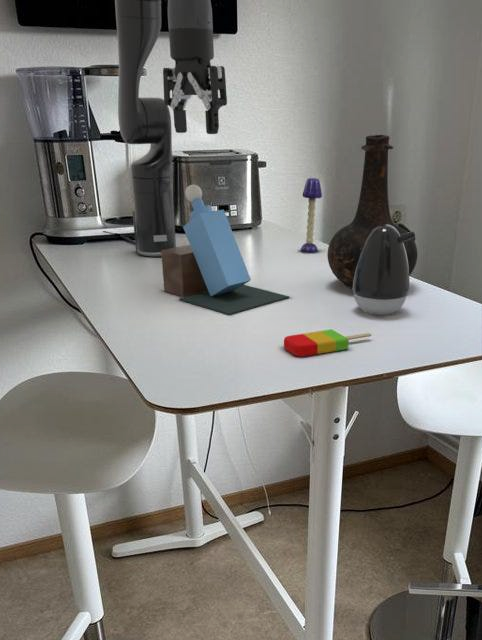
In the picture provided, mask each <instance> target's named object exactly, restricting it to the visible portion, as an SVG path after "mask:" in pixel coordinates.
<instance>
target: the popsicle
mask: <svg viewBox="0 0 482 640" xmlns="http://www.w3.org/2000/svg"><path fill="white" fill-rule="evenodd" d="M368 337H372V333H370V332H365V333H359V334H353V335H346V336H345V335H342V334H340V333H339V332H337V331H336V330H334V329H332V328H331V329H325V330H318V331H311V332H305V333H298V334H291V335H287V336H285V337H284V339H283V348H284V350H286V351H288V352H289V353H290V354H292V355H293V356H295V357H301V358H302V357H309V356H314V355H319V354H326V353H333V352H338V351H344V350H347V349H348V348H349V341H350V340H356V339H362V338H368Z"/></svg>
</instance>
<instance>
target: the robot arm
mask: <svg viewBox="0 0 482 640" xmlns="http://www.w3.org/2000/svg"><path fill="white" fill-rule="evenodd" d="M114 6H115V7H114V8H115V21H116V22H115V23H116V35H117V36H116V37H117V52H118V53H117V54H118V55H117V56H118V88H117V89H118V91H117V92H118V94H117V96H118V97H117V118H118V119H117V120H118V128H119V132H120V135H121V138H122V140H123V141H124V142H125V143H126V144H128V145H150V146H149V150H148V151H147V152H146V154H144V156H142V157H140V158H138V159H137V160H135V161H133V162H132V163H131V164H130V176H131V177H130V179H131V188H132V189H131V191H132V200H133V210H132V221H133V222H132V223H133V234H134V235H133V236H134V240H133V239H131V238H130V237H128V236H127V237H125V236H126V235H125V236H123V235H124V234H123V235H120V236H119V238H122V239H123V240H125V241H127V242H128V243H130V244H132V245H134V246H135V252H136V253H137V254H138V255H140V256H142V257H155V258H156V257H162V255H161V250H165V249H170V248H175V247H177V240H176V223H175V222H176V221H175V208H174V193H173V178H172V165H173V145H172V144H173V142H172V139H173V138H172V137H173V135H172V132H173V131H172V117H171V112H170V108H171V110H172V112H173V124H174V130H175V132H176V133H177V134H183V133H184V134H186V133H187V131H188V127H187V125H188V123H187V110H186V109H185V108H186V106H187V103H188V101H189V100H190V99H191V98H192V96H197V98H198V99H200V100H201V101H202V104H203V106H204V107H205V132H206V134H207V135H217V134H218V133H219V129H220V124H219V123H220V121H219V120H220V119H219V118H220V117H219V110H220V109H221V108H222V107H224V106H227V104H228V95H227V82H226V81H227V80H226V68H225V66H223V65H212V64H211V61H212V60H213V59H214V58H215V47H214V26H213V25H214V23H213V8H212V2H211V0H167V26H168V39H169V41H168V42H169V56H170V58H171V60H174V62H175V65H174V67H163V69H162V81H163V98H162V97H140V95H139V94H140V83H141V77H142V73H143V70H144V67H145V65H146V63H147V61H148V59H149V57H150V55H151V54H152V51H153V49H154V47H155V45H156V44H157V41H158V39H159V35H160V33H161V29H162V0H114ZM169 107H170V108H169Z"/></svg>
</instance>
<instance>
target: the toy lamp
mask: <svg viewBox="0 0 482 640" xmlns="http://www.w3.org/2000/svg"><path fill="white" fill-rule="evenodd" d="M322 192H323V191H322V186H321V180H320V178H315V177H309V178H307V179H306V181H305V184H304V188H303V191H302V198H306V199H308V201H307V202H308V205H307V209H308V211H307V220H306V222H307V225H306V239H305V241H306V243H304V244H303V245H302V246H301V247H300V251H301V252H302V253H306V254H315V253H318V252H319V250H318V246H317V245H316V244H315V243H313V242H314V238H313V237H314V235H315V234H314V233H315V232H314V230H315V216H316V212H315V210H316V202H317V201H316V199H322V198H323V193H322Z"/></svg>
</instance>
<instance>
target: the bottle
mask: <svg viewBox="0 0 482 640" xmlns="http://www.w3.org/2000/svg"><path fill="white" fill-rule="evenodd" d="M184 195H185V198H186V200H187V201H188V202H189V203H191V206H192V209H193V210H192V211H191V212H190V213H189V217H190V219H191V220H190V221H188V222H187V223H185V224H184V225H183V226H182V228H183V230H184V233H185V236H186V238H187V241H188V243H189V245H190V246H191V248H192V251H193V253H194V256H195V259H196V261H197V264H198V266H199V269H200V271H201V274H202V276H203V279H204V281H205V284H206V286H207V289H208V291H209V294H210V296H211V297H212V296H216V295H220V294H224V293H228V292H231V291H234V290H236V289H237V288H239V287H241V286H242V285H247V283H249V282H251V280H252V279H251V277H250V274H249V272H248V269H247V266H246V264H245V261H244V258H243V255H242V253H241V250H240V248H239V245H238V242H237V240H236V238H235V235H234V232H233V230H232V227H231V224H230V221H229V219H228V217H227V214H226V212H225V210H224V209H219V210H213V208H212V205H205V203H204V200H203V198H202V197H203V190H202V188H201V187H200V186H199V185H197V184H190V185H188V186H187V187H186V188H185V191H184ZM208 291H207V292H208Z"/></svg>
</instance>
